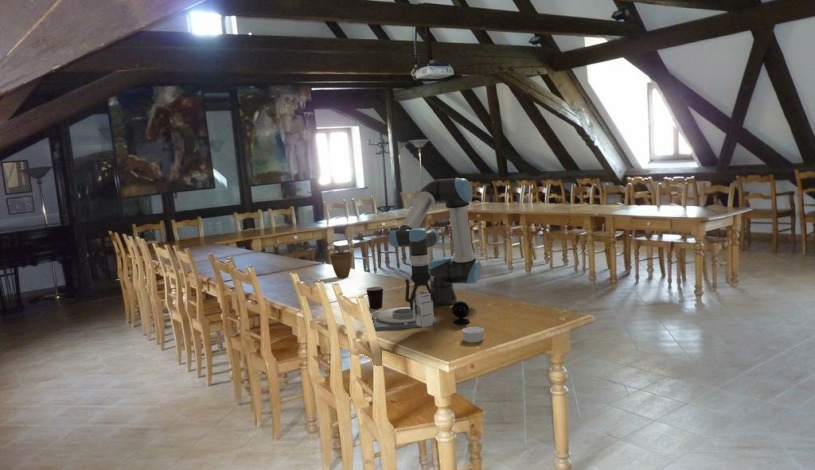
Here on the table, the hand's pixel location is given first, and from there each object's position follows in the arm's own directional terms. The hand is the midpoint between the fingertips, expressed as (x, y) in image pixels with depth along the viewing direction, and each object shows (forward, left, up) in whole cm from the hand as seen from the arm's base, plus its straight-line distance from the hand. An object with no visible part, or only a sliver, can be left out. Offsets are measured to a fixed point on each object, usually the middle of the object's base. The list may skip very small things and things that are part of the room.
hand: (423, 315), depth 275 cm
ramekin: (-18, +19, -7) cm, 27 cm away
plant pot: (+36, -147, -7) cm, 151 cm away
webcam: (-18, -8, -7) cm, 21 cm away
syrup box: (0, 0, -4) cm, 4 cm away
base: (+7, -22, -7) cm, 24 cm away
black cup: (+18, -54, -7) cm, 57 cm away
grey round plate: (+7, -22, -5) cm, 23 cm away
